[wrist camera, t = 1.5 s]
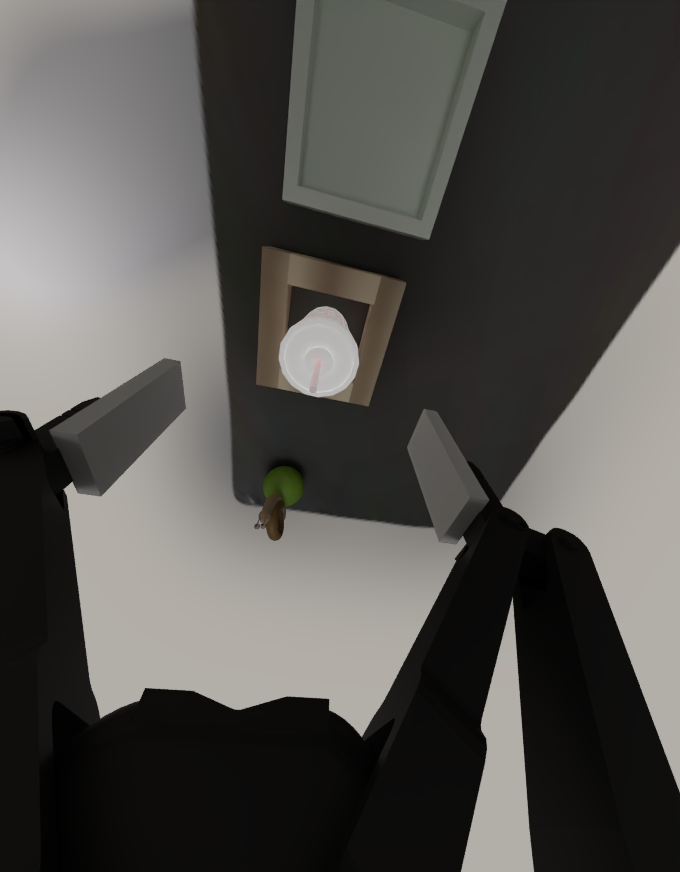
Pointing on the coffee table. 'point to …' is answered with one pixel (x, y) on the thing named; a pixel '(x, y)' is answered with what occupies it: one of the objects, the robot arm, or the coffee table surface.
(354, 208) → the tray
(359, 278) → the socket holder
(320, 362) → the beverage cup
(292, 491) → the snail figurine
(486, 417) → the coffee table surface
